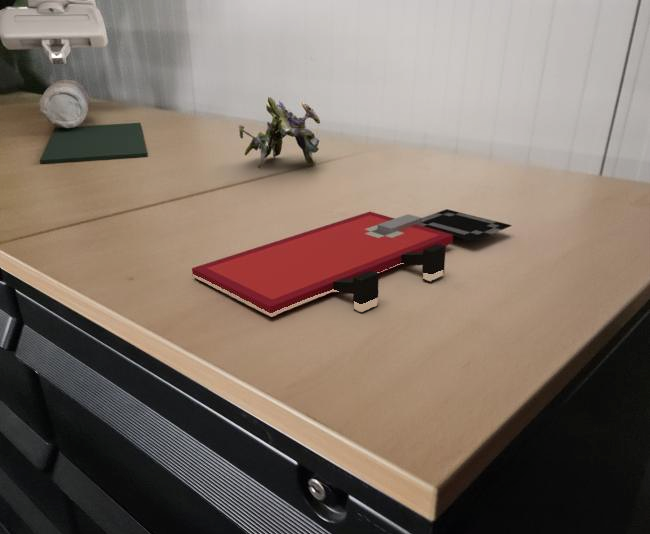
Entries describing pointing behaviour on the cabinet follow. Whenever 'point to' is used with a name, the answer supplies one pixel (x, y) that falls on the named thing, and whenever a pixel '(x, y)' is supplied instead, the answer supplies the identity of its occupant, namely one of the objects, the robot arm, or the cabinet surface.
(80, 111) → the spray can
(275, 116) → the toy creature figure
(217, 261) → the red board with handle
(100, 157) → the mat
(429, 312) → the cabinet surface
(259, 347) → the cabinet surface
